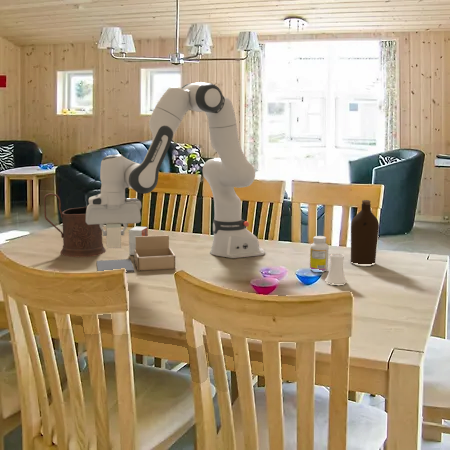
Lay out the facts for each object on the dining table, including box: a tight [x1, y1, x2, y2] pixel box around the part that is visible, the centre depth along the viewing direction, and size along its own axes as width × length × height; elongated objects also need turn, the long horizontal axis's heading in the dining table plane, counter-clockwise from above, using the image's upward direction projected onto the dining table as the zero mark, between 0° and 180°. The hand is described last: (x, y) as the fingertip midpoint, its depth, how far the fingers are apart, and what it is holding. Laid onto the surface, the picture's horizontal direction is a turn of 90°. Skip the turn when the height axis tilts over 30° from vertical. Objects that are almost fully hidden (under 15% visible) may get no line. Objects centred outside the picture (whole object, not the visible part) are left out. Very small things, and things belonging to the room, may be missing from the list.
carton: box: [134, 235, 176, 272], centre depth 232 cm, size 14×13×10 cm
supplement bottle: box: [309, 235, 329, 272], centre depth 226 cm, size 7×7×13 cm
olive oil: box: [350, 199, 380, 264], centre depth 236 cm, size 11×11×25 cm
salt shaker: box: [324, 253, 348, 284], centre depth 211 cm, size 8×8×10 cm
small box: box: [128, 226, 149, 256], centre depth 250 cm, size 8×6×10 cm
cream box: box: [105, 223, 122, 249], centre depth 227 cm, size 5×7×9 cm
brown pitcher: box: [43, 193, 107, 258], centre depth 249 cm, size 18×24×25 cm
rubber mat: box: [96, 258, 135, 273], centre depth 229 cm, size 13×16×1 cm
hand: (113, 235), depth 227 cm, fingers closed on cream box, 5 cm apart
